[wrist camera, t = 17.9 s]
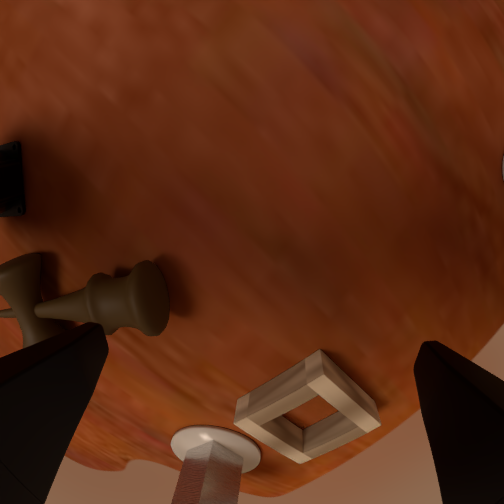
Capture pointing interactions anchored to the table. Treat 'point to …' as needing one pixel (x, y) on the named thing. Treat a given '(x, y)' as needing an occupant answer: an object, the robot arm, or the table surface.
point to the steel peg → (209, 476)
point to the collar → (298, 392)
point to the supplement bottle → (503, 167)
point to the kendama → (85, 300)
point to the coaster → (223, 436)
